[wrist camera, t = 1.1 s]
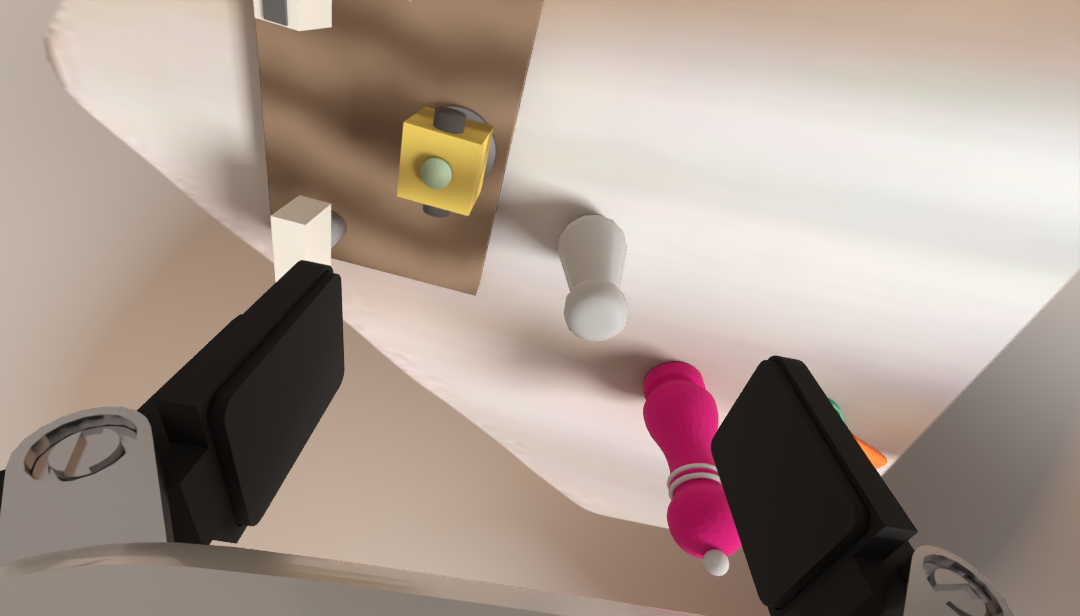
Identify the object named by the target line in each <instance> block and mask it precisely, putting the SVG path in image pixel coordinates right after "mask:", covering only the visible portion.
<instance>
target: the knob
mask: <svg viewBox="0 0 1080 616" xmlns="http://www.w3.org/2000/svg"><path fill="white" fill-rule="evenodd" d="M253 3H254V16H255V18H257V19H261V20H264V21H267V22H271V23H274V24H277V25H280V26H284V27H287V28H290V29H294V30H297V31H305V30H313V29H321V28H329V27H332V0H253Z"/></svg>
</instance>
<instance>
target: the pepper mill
mask: <svg viewBox="0 0 1080 616" xmlns="http://www.w3.org/2000/svg"><path fill="white" fill-rule="evenodd" d="M643 386H644V393H645V398H646V402H645V404H644V407H643V416H644V420H645V424H646V427H647V429H648V431H649V433H650V435H651V437H652V438H653V439H654V441H655V442H656V443H657V445H658V446H659V447H660V448H661V450H662V451H663V453H664V455H665V457H666V459H667V462H668V465H669V468H670V475H669V477H668V480H667V487H668V489H669V497H670V499H671V502H670V504H669V507H668V511H667V521H668V526H669V529H670V532H671V535H672V536H673V538H674V540H675V542H676V543H677V544H678V545H679V546H680V547H681V548H682V549H683V550H684V551H685V552H687V553H688V554H690V555H692V556H695V557H697V558H702V559H704V565H705V567H706V569H707V570H708V572H710V573H711V574H713V575H716V576H721V575H724V574H725V573H726V572H727V570H728V568H729V561H728V558H727V556H729V555H731V554H733V553H734V552H735V551H737V550H738V549H739V548H740V546H741V545H742V544H741V541H740V538H739V535H738V532H737V529H736V526H735V523H734V520H733V517H732V514H731V511H730V508H729V505H728V502H727V499H726V496H725V493H724V490H723V487H722V484H721V481H720V478H719V475H718V472H717V469H716V466H715V463H714V460H713V457H712V453H711V442H712V439H713V436H714V435H715V433H716V432H717V429H718V411H717V406H716V403H715V400H714V398H713V397H712V395H711V394H710V393H709V392H708V391H707V390H706V389H705V385H704V382H703V379H702V376H701V374H700V372H699V371H698V370H697V369H696V368H694V367H693V366H691V365H689V364H686V363H681V362H668V363H665V364H661V365H659V366H657V367H655V368H653V369H652V370H651V371H650V372H649V373H648V374H647V376H646V377H645V380H644V385H643Z"/></svg>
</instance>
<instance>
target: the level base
mask: <svg viewBox="0 0 1080 616" xmlns="http://www.w3.org/2000/svg"><path fill="white" fill-rule="evenodd" d="M542 5H543V0H332V27H329V28H321V29H313V30H305V31H297V30H294V29H290V28H287V27H284V26H280V25H277V24H274V23H271V22H267V21H264V20H261V19H257V18H255V22H256V34H257V47H258V59H259V72H260V85H261V97H262V110H263V123H264V135H265V148H266V160H267V173H268V186H269V198H270V211H271V215H272V214H274V213H275V212H277V211H278V210H279V209H281V208H282V207H284V206H285V205H286V204H288V203H289V202H291V201H292V200H293V199H295V198H296V197H298V196H299V195H301V196H305V197H308V198H312V199H316V200H319V201H323V202H327V203H331V211H332V212H335V213H337V214H338V215H340V216H341V217H342V218H343V220H344V221H345V223H346V227H347V231H346V233H345V235H344V236H343V237H342V238H341V239H340V240H339V241H338V242H337V243H336V244H335V245H334V246H333V247H332V248H331V258H333V259H337V260H341V261H345V262H349V263H352V264H356V265H360V266H364V267H368V268H372V269H375V270H379V271H383V272H387V273H391V274H395V275H398V276H402V277H406V278H410V279H414V280H418V281H421V282H425V283H429V284H433V285H437V286H441V287H444V288H448V289H452V290H456V291H460V292H464V293H467V294H471V295H475V296H476V293H477V290H478V287H479V284H480V279H481V275H482V270H483V266H484V261H485V257H486V253H487V248H488V244H489V239H490V235H491V231H492V226H493V222H494V217H495V213H496V208H497V204H498V200H499V195H500V191H501V186H502V182H503V177H504V173H505V169H506V164H507V160H508V155H509V151H510V146H511V142H512V138H513V133H514V129H515V124H516V120H517V116H518V111H519V107H520V102H521V98H522V93H523V89H524V85H525V80H526V76H527V71H528V67H529V62H530V58H531V54H532V49H533V45H534V40H535V36H536V31H537V27H538V23H539V18H540V14H541V9H542Z"/></svg>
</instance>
